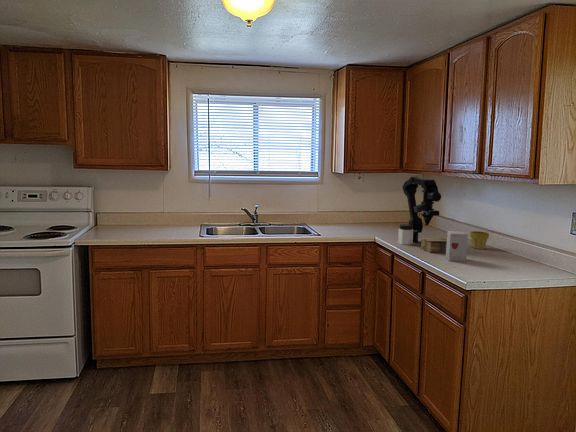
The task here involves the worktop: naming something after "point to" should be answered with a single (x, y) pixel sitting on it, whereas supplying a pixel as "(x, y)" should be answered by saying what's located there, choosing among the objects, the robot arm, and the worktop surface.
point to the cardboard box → (433, 246)
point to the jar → (405, 234)
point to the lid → (435, 239)
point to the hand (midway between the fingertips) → (426, 225)
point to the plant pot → (479, 239)
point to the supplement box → (456, 246)
